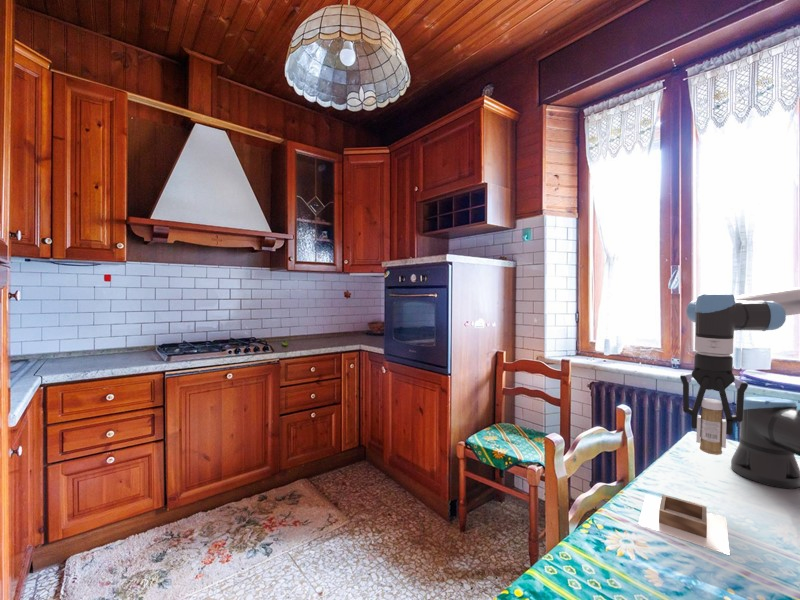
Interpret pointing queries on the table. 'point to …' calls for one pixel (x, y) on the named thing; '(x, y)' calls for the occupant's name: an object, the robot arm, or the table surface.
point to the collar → (682, 521)
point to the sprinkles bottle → (711, 426)
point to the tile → (713, 540)
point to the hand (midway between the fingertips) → (710, 443)
